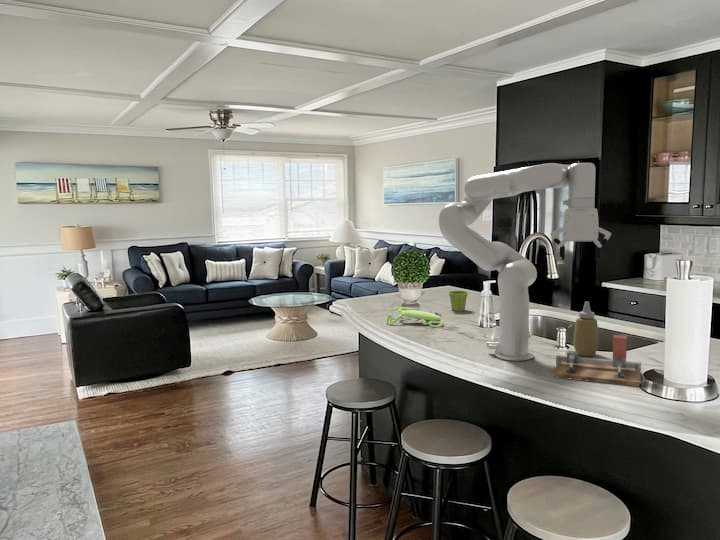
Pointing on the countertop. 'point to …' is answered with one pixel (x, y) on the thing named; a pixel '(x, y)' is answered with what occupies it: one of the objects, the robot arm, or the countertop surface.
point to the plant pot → (458, 300)
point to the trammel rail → (591, 361)
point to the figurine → (416, 316)
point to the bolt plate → (598, 373)
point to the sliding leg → (619, 352)
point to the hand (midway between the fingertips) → (579, 259)
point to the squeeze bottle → (586, 332)
